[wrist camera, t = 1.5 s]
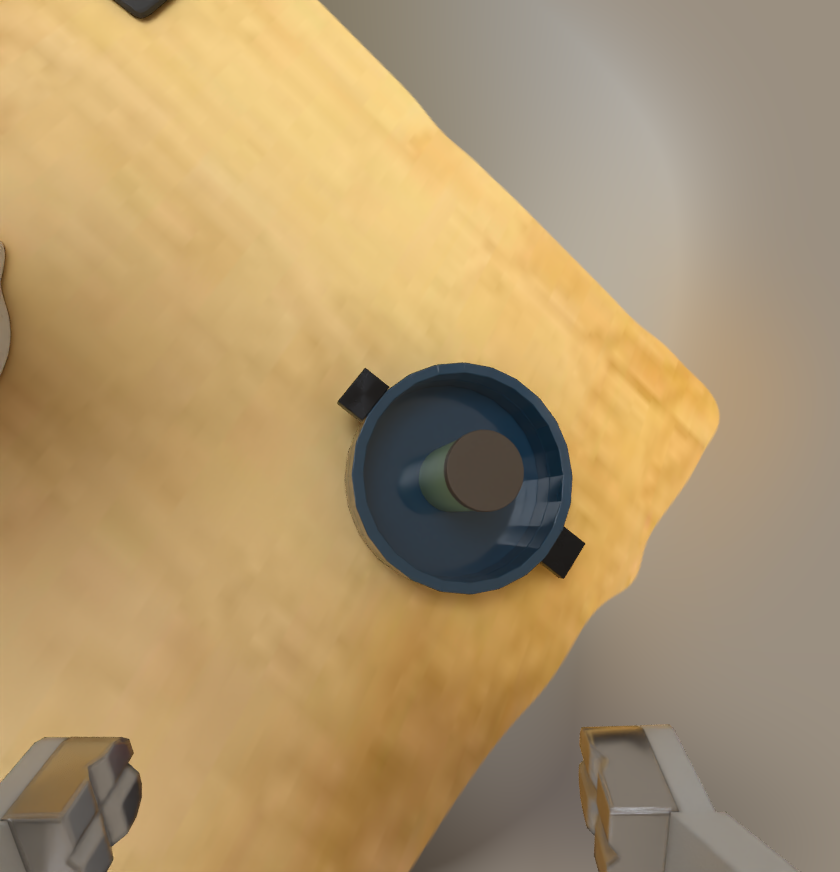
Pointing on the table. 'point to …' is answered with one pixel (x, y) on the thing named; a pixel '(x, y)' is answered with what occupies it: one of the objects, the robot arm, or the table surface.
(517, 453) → the canister
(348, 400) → the pot ear handles
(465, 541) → the pot
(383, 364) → the table surface
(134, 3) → the cell phone
